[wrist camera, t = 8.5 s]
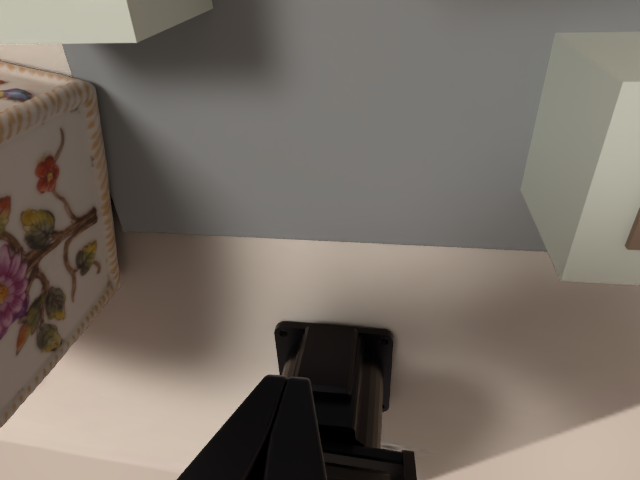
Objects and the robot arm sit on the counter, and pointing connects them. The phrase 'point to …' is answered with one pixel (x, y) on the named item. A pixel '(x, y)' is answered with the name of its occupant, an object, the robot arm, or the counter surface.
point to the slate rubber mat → (335, 118)
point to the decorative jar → (49, 224)
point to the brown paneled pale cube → (92, 20)
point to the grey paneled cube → (589, 158)
